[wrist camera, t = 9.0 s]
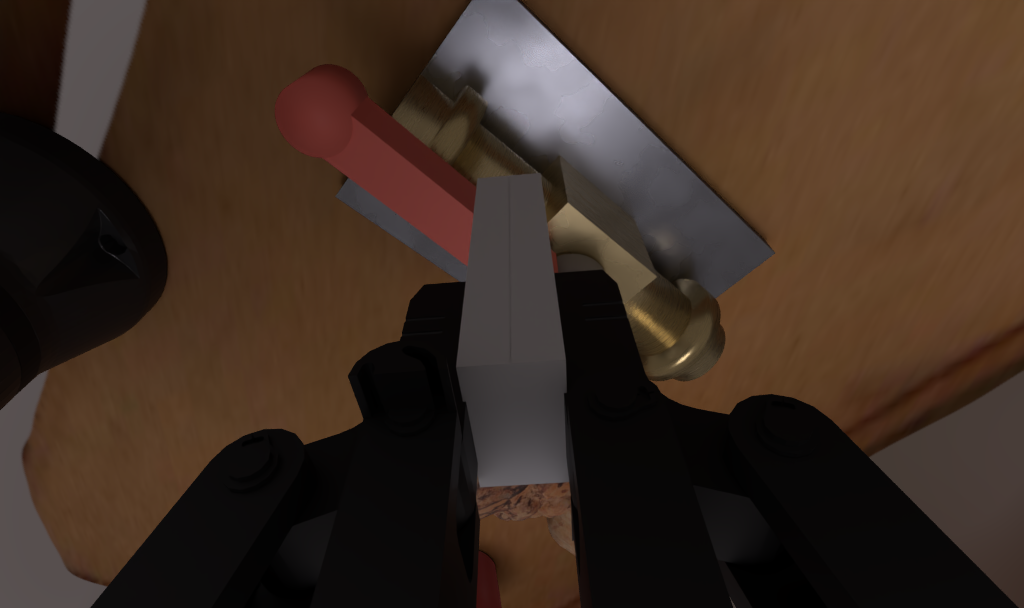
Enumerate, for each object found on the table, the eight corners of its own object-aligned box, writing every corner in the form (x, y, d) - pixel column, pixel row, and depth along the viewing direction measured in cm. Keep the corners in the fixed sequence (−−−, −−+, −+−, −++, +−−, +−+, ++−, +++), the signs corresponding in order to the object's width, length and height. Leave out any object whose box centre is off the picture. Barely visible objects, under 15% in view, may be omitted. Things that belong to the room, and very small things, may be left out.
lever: (569, 326, 27) (575, 375, 24) (285, 109, 21) (247, 140, 18) (623, 283, 25) (636, 330, 22) (333, 35, 19) (299, 54, 16)
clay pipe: (600, 304, 40) (406, 348, 37) (676, 396, 32) (432, 463, 29) (592, 464, 51) (440, 509, 48) (647, 565, 42) (467, 629, 39)
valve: (342, 186, 31) (299, 249, 25) (491, -29, 25) (482, -13, 18) (603, 366, 39) (618, 447, 33) (765, 240, 33) (821, 312, 27)
